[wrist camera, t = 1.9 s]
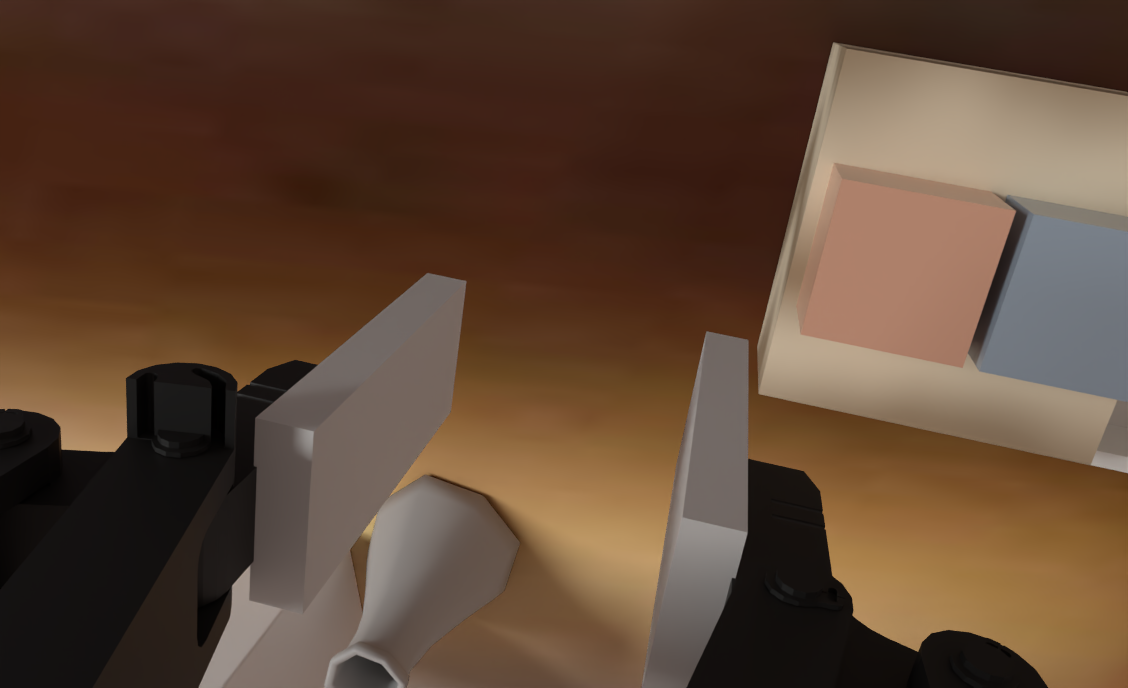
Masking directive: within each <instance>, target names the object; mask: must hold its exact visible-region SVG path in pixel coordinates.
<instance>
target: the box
mask: <svg viewBox="0 0 1128 688" xmlns="http://www.w3.org/2000/svg"><path fill="white" fill-rule="evenodd" d="M1091 465H1093V466H1098V467H1102V468H1107V469H1112V470H1116V471H1121V472H1125V473H1128V402H1125V401H1120V400H1117V402H1116V405H1115V407H1114V410H1113V412H1112V415H1111V417H1110V419H1109V422H1108V424H1107V427H1106V429H1105V431H1104V434H1103V436H1102V439H1101V441H1100V443H1099V446H1098V448H1097V451H1096V453H1095V456H1094V458H1093V460H1092V463H1091Z"/></svg>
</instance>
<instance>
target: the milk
mask: <svg viewBox="0 0 1128 688" xmlns="http://www.w3.org/2000/svg"><path fill="white" fill-rule="evenodd" d="M249 590H250V566H249V567H248V568H247V569H246V571H245V572H244V573H243V574H242V575H241V576H240V577H239V578H238V580H237V581H236V582H235V583H234V584H233V585H232V607H231V614H230V619H229V621H228V623H227V625H226V627H225V630H224V632H223V634H222V636H221V639H220V641H219V643H218V645H217V648H216V650H215V652H214V654H213V656H212V659H211V661H210V663H209V665H208V668H207V670H206V672H205V674H204V677H203V679H202V681H201V683H200V685H199V688H325V687H324V683H325V679H326V675H327V671H328V667H329V663H330V660H331V658H332V657H333V656H334V655H335V654H337V653H339V652H340V651H342V650H344V649H346V648H347V647H348V646H349V644H350V642H351V641H352V639H353V637H354V636H355V634H356V632H357V630H358V627H359V624H360V621H361V618H362V615H363V612H362V607H361V602H360V597H359V592H358V587H357V582H356V577H355V572H354V567H353V562H352V557H351V552H350V550H349V552H348V553H347V554H346V556H345V557H344V559H343V560H342V561H341V563H340V564H339V565H338V567H337V568H336V569H335V571H334V572H333V574H332V575H331V576H330V578H329V579H328V580H327V582H326V583H325V585H324V586H323V587H322V589H321V590H320V591H319V593H318V594H317V595H316V597H315V598H314V600H313V601H312V602H311V604H310V605H309V606H308V608H307V609H306V611H305V612H304V613H303V614H299V613H295V612H292V611H288V610H284V609H280V608H276V607H272V606H268V605H265V604H261V603H257V602H253V601H249Z"/></svg>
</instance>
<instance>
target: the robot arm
mask: <svg viewBox="0 0 1128 688" xmlns="http://www.w3.org/2000/svg"><path fill="white" fill-rule="evenodd" d="M465 288H466V281H462V280H458V279H453V278H448V277H443V276H439V275H434V274H429V273H427V274H426V275H425V276H424V277H422V278H421V279H420V280H419V281H418V282H416V283H415V284H414V285H413V286H412V287H411V288H409V289H408V290H407V291H406V292H405V293H403V294H402V295H401V296H400V297H399V298H397V299H396V300H395V301H394V302H393V303H391V304H390V305H389V306H388V307H387V308H386V309H384V310H383V311H382V312H381V313H380V314H378V315H377V316H376V317H375V318H374V319H372V320H371V321H370V322H369V323H368V324H366V325H365V326H364V327H363V328H362V329H361V330H359V331H358V332H357V333H356V334H355V335H353V336H352V337H351V338H350V339H349V340H347V341H346V342H345V343H344V344H343V345H341V346H340V347H339V348H338V349H337V350H336V351H334V352H333V353H332V354H331V355H330V356H328V357H327V358H326V359H325V360H324V361H322V362H321V363H320V364H319V365H316V364H311V363H307V362H302V361H298V360H294V361H291V362H287V363H284V364H281V365H278V366H275V367H272V368H269V369H267V370H266V371H264V372H263V373H262V374H261V375H259V376H258V377H257V378H255V379H254V380H253V381H251V382H250V385H246V386H245V387H243V388H242V389H241V390H240V391H238V392H237V381H236V380H235V379H234V377H233V376H232V375H231V374H230V373H228V372H226V371H223V370H221V369H219V368H217V367H212V366H208V365H203V364H197V363H170V364H161V365H155V366H151V367H148V368H145V369H141V370H138V371H136V372H135V373H133V374H132V375H130V376H129V377H127V378H126V398H127V438H126V440H125V441H124V442H123V443H122V444H121V446H120V447H119V448H118V449H117V450H116V452H96V451H77V450H61V431H60V426H59V425H58V424H57V423H56V422H55V421H54V419H52V418H50V417H47V416H45V415H42V414H40V413H35V412H28V411H22V410H19V409H7V410H6V411H5V409H0V688H199V685H200V683H201V681H202V679H203V677H204V674H205V672H206V670H207V668H208V665H209V663H210V661H211V659H212V656H213V654H214V652H215V650H216V648H217V645H218V643H219V641H220V639H221V636H222V634H223V632H224V630H225V627H226V625H227V623H228V621H229V619H230V614H231V607H232V585H233V584H234V583H235V582H236V581H237V580H238V578H239V577H240V576H241V575H242V574H243V573H244V572H245V571H246V569H247V568H248V567H249V566H250V590H249V601H253V602H257V603H261V604H265V605H268V606H272V607H276V608H280V609H284V610H288V611H292V612H295V613H299V614H303V613H304V612H305V611H306V609H307V608H308V606H309V605H310V604H311V602H312V601H313V600H314V598H315V597H316V595H317V594H318V593H319V591H320V590H321V589H322V587H323V586H324V585H325V583H326V582H327V580H328V579H329V578H330V576H331V575H332V574H333V572H334V571H335V569H336V568H337V567H338V565H339V564H340V563H341V561H342V560H343V559H344V557H345V556H346V554H347V553H348V552H349V550H350V549H351V548H352V546H353V545H354V543H355V542H356V541H357V539H358V538H359V537H360V535H361V534H362V533H363V531H364V530H365V528H366V527H367V526H368V524H369V523H370V522H371V520H372V519H373V517H374V516H375V515H376V513H377V512H378V511H379V509H380V508H381V507H382V505H383V504H384V502H385V501H386V500H387V498H388V497H389V496H390V494H391V493H392V491H393V490H394V489H395V487H396V486H397V485H398V483H399V482H400V480H401V479H402V478H403V476H404V475H405V474H406V472H407V471H408V470H409V468H410V467H411V465H412V464H413V463H414V461H415V460H416V459H417V457H418V456H419V454H420V453H421V452H422V450H423V449H424V448H425V446H426V445H427V444H428V442H429V441H430V439H431V438H432V437H433V435H434V434H435V433H436V431H437V430H438V428H439V427H440V426H441V424H442V423H443V422H444V420H445V419H446V418H447V416H448V415H449V413H450V412H451V405H452V396H453V388H454V380H455V372H456V363H457V355H458V347H459V338H460V330H461V322H462V313H463V305H464V297H465ZM822 511H823V509H822V502H821V495H820V491H819V489H818V488H817V487H816V486H815V484H814V483H813V482H812V481H811V480H810V478H809V477H808V476H807V475H806V473H805V472H804V471H800V470H796V469H791V468H787V467H782V466H778V465H773V464H769V463H764V462H760V461H755V460H751V459H748V340H745V339H741V338H736V337H731V336H726V335H721V334H717V333H712V332H706V336H705V340H704V345H703V349H702V354H701V358H700V363H699V367H698V371H697V376H696V380H695V385H694V389H693V394H692V398H691V402H690V407H689V411H688V416H687V420H686V425H685V429H684V433H683V438H682V442H681V447H680V451H679V456H678V460H677V465H676V471H675V478H674V484H673V490H672V497H671V503H670V509H669V516H668V522H667V528H666V535H665V541H664V547H663V554H662V560H661V566H660V573H659V579H658V585H657V592H656V598H655V604H654V611H653V617H652V623H651V630H650V636H649V643H648V649H647V655H646V662H645V668H644V674H643V681H642V687H641V688H1048V687H1047V685H1046V684H1045V682H1044V681H1043V680H1042V678H1041V677H1040V675H1039V674H1038V672H1037V671H1036V670H1035V669H1034V668H1033V667H1032V666H1031V665H1030V664H1028V663H1027V662H1026V661H1025V660H1024V659H1023V658H1021V657H1020V656H1019V655H1018V654H1017V653H1015V652H1014V651H1012V650H1010V649H1009V648H1007V647H1006V646H1002V645H1000V643H998V642H996V641H994V640H992V639H989V638H984V637H981V636H978V635H975V634H972V633H969V632H960V631H952V630H946V631H941V632H936V633H931V634H930V635H929V636H928V637H927V638H926V639H925V640H924V641H923V642H922V644H921V646H920V649H919V652H917V651H915V650H912V649H910V648H908V647H906V646H904V645H901V644H899V643H897V642H895V641H892V640H890V639H888V638H886V637H884V636H882V635H880V634H878V633H876V632H875V631H873V630H871V629H869V628H868V627H867V626H865V625H864V624H862V623H861V622H859V621H858V620H857V619H856V618H854V617H853V616H852V614H853V603H852V597H851V596H850V594H849V593H848V591H847V590H846V589H845V587H844V586H843V584H842V583H840V582H839V581H838V580H836V579H835V578H834V577H833V576H832V571H831V564H830V557H829V550H828V543H827V536H826V530H824V528H825V523H824V516H823V514H822Z"/></svg>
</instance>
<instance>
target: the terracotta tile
mask: <svg viewBox="0 0 1128 688" xmlns="http://www.w3.org/2000/svg"><path fill="white" fill-rule="evenodd" d="M1015 213H1016V210H1014V209H1013V208H1012V207H1010V206H1009V205H1008V204H1007V203H1005V202H1004V201H1003V200H1001V199H1000V198H999V197H998V196H996V195H995V194H994V193H993V192H991V191H986V190H980V189H975V188H969V187H964V186H959V185H953V184H948V183H942V182H937V181H931V180H926V179H920V178H915V177H910V176H904V175H899V174H893V173H888V172H882V171H877V170H872V169H866V168H861V167H855V166H850V165H844V164H839V163H833V167H832V171H831V175H830V178H829V182H828V186H827V190H826V194H825V198H824V201H823V205H822V209H821V213H820V217H819V221H818V224H817V228H816V232H815V236H814V240H813V244H812V247H811V251H810V255H809V259H808V263H807V266H806V270H805V274H804V278H803V282H802V286H801V289H800V293H799V297H798V301H797V305H796V308H797V314H798V321H799V327H800V334H801V335H805V336H810V337H815V338H820V339H825V340H830V341H834V342H839V343H844V344H849V345H854V346H859V347H863V348H868V349H873V350H878V351H883V352H888V353H892V354H897V355H902V356H907V357H912V358H917V359H922V360H926V361H931V362H936V363H941V364H946V365H951V366H955V367H960V368H963V365H964V363H965V360H966V357H967V354H968V351H969V348H970V345H971V342H972V339H973V336H974V333H975V330H976V327H977V324H978V321H979V319H980V316H981V313H982V310H983V307H984V304H985V301H986V298H987V295H988V292H989V289H990V286H991V283H992V280H993V277H994V274H995V272H996V269H997V266H998V263H999V260H1000V257H1001V254H1002V251H1003V248H1004V245H1005V242H1006V239H1007V236H1008V233H1009V230H1010V228H1011V225H1012V222H1013V219H1014V216H1015Z"/></svg>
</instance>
